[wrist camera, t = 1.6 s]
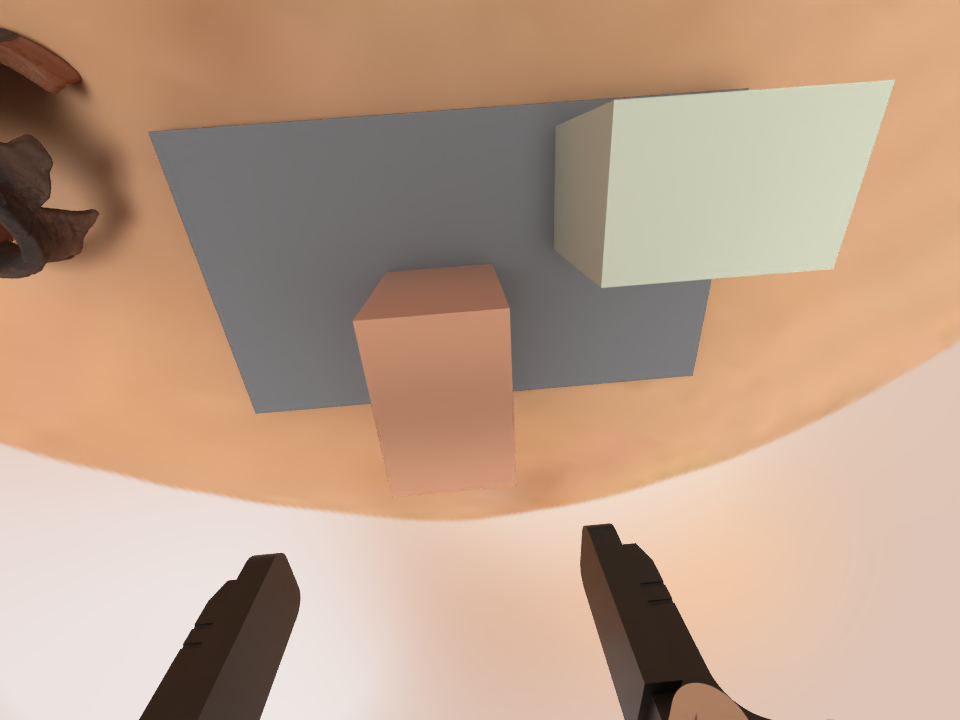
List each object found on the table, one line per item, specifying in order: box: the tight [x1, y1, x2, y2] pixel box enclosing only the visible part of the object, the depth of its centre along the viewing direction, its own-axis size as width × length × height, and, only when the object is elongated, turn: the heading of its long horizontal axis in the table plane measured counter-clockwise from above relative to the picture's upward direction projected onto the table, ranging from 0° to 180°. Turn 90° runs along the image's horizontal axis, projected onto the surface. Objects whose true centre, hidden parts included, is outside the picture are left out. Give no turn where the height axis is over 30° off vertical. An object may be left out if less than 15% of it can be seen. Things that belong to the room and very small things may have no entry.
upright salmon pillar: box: [353, 264, 516, 497], centre depth 20 cm, size 9×6×8 cm, turn 4°
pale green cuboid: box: [554, 80, 895, 288], centre depth 17 cm, size 9×6×8 cm, turn 94°
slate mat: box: [149, 88, 749, 414], centre depth 23 cm, size 16×29×1 cm, turn 94°
